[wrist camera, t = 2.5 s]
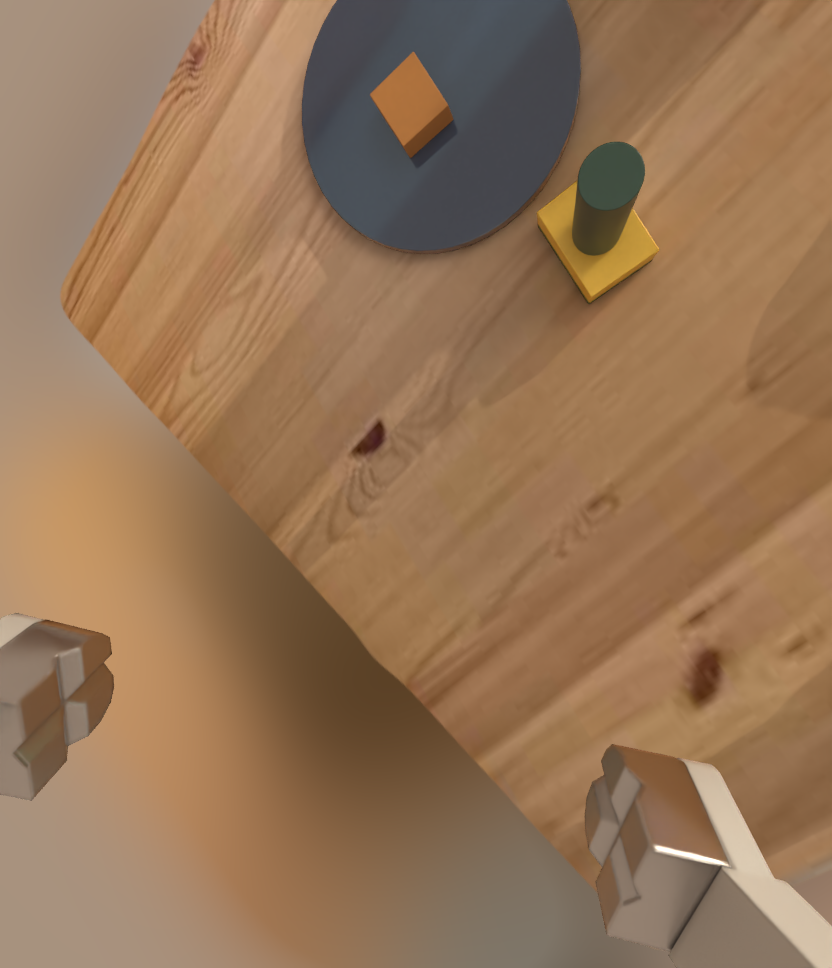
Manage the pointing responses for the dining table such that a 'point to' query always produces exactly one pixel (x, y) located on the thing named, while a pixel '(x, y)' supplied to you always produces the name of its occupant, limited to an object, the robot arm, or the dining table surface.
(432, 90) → the orange block
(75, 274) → the dining table surface
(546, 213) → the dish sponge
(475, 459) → the dining table surface
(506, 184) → the plate
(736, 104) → the dining table surface
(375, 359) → the dining table surface
